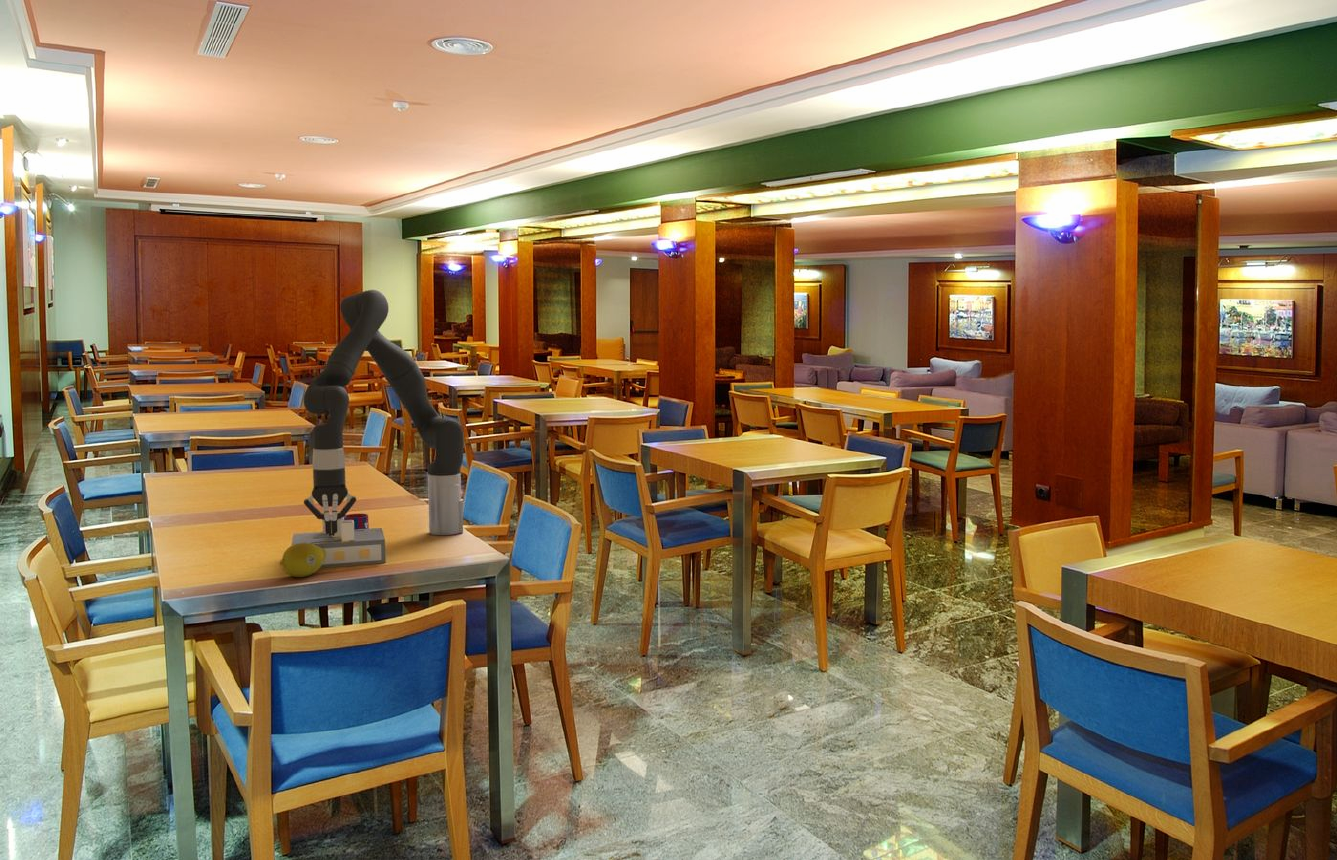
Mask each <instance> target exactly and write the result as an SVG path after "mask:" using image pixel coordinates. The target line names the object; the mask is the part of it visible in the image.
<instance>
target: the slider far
mask: <svg viewBox="0 0 1337 860" xmlns="http://www.w3.org/2000/svg"><path fill="white" fill-rule="evenodd" d="M329 514H330V520H332V512H329ZM321 520H322V519H321ZM321 525H322V532H323V534H326V532H325V521H324V520H322V524H321ZM331 533H332V529H331Z"/></svg>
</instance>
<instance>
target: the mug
mask: <svg viewBox="0 0 1337 860" xmlns="http://www.w3.org/2000/svg"><path fill="white" fill-rule="evenodd" d="M344 520H354V530H357V529H370V528H369V527H370V526H369V514H367V513H350V514H348V513H347V514H346V515H345V516H344Z"/></svg>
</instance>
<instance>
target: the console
mask: <svg viewBox="0 0 1337 860" xmlns="http://www.w3.org/2000/svg"><path fill="white" fill-rule="evenodd" d="M354 538H355V540H351V541H342V537H332V533H331V536H329V534H323V531H316V532H301V533H293V534H292V541H291V546H293V545H295V544H299V543H310V544H314V545H316V546H318V547H320V548H323V549H324V550H325V551H326V557H325V560H324V561H323V562H322V565H321V566H320V568H319V569H323V568H324V569H325V568H334V567H335V568H336V567H347V566H358V565H362V566H363V565H371V564H372V565H373V564H384V563H386V562H387V561H386V560H387V559H386V539H385V534H384V531H383V528H382V527H377V528H376V527H375V528H369V529H357V530H354ZM291 546H290V547H291Z"/></svg>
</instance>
